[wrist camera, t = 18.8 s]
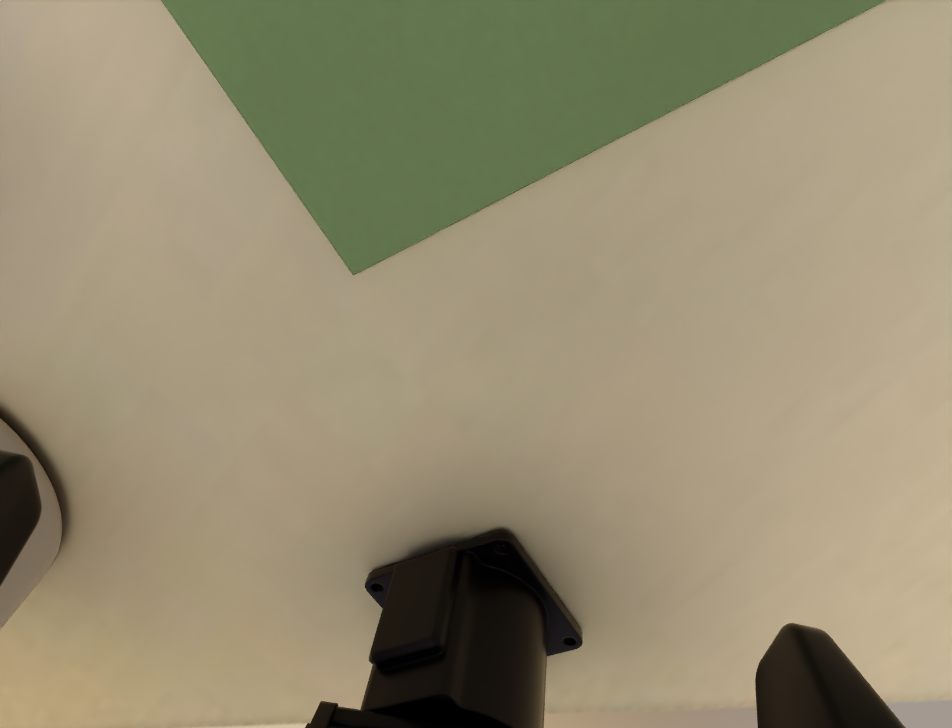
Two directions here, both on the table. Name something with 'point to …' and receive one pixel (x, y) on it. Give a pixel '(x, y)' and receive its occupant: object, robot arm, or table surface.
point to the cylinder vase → (40, 543)
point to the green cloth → (466, 91)
